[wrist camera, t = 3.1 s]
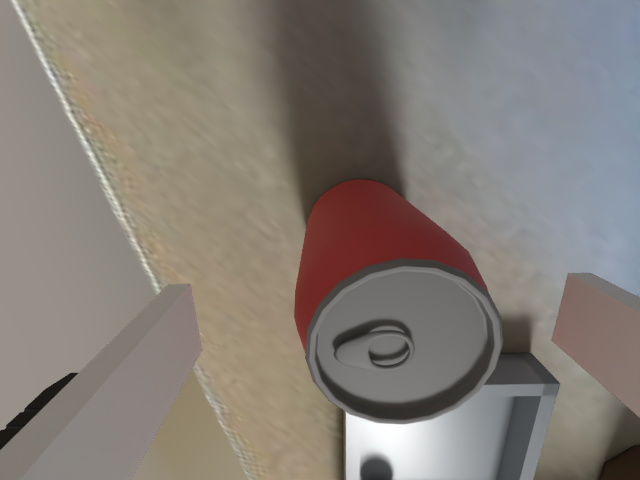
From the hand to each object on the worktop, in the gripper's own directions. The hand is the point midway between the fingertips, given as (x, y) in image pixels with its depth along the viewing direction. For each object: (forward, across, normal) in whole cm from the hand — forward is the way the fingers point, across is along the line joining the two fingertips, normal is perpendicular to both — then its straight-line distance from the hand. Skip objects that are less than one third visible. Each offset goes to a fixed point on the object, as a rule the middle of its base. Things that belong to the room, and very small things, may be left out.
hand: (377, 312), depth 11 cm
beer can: (+10, 0, 0) cm, 10 cm away
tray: (+10, +6, -18) cm, 21 cm away
